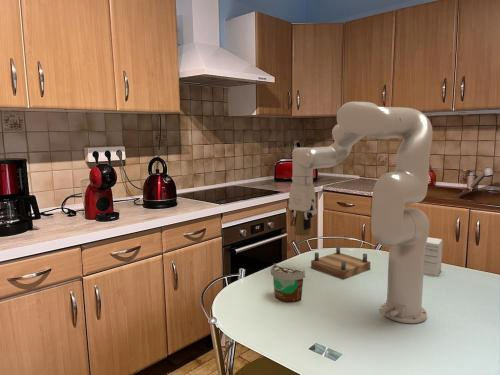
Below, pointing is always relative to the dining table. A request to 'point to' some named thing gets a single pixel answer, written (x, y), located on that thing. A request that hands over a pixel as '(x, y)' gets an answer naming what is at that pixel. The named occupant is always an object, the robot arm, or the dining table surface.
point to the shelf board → (340, 264)
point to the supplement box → (433, 257)
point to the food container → (287, 284)
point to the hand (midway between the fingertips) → (302, 227)
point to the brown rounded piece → (300, 224)
